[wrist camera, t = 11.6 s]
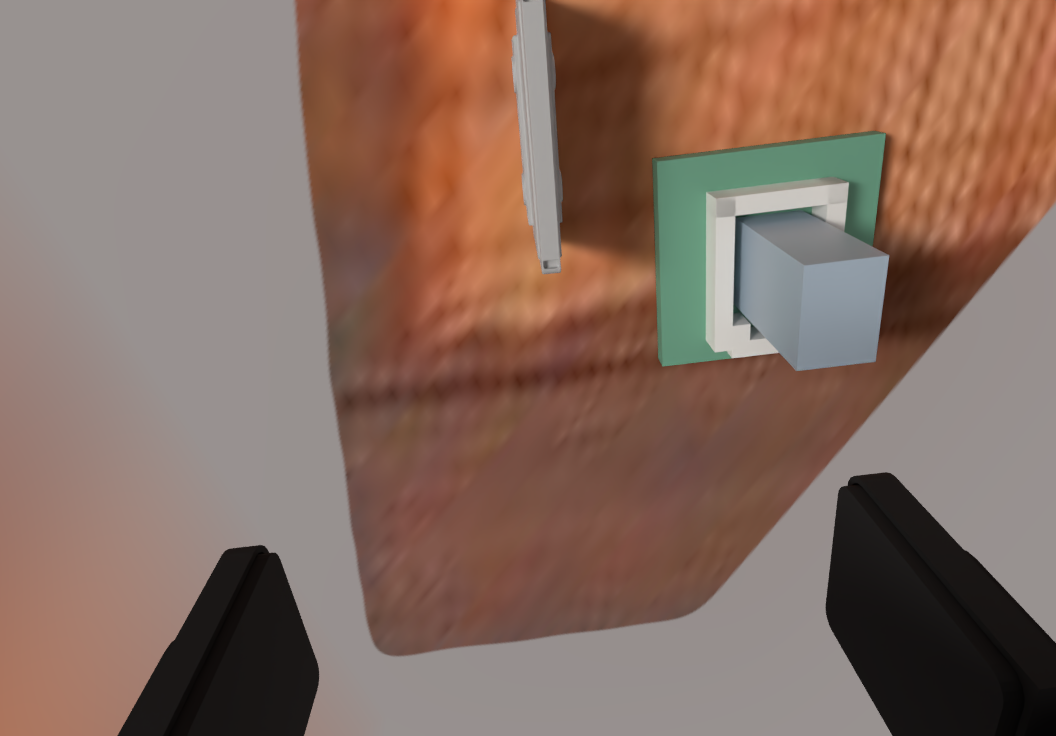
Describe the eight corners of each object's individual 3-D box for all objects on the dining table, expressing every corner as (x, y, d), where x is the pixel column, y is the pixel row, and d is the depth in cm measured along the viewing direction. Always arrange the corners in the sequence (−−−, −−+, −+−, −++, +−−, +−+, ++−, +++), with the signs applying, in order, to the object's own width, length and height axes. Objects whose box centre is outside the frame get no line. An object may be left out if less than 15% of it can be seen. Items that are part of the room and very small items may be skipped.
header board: (652, 158, 36) (664, 166, 33) (874, 130, 35) (905, 137, 33) (658, 358, 41) (669, 379, 38) (851, 334, 41) (877, 354, 38)
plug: (735, 217, 36) (804, 265, 28) (801, 209, 36) (889, 255, 28) (732, 319, 38) (795, 390, 30) (794, 312, 38) (872, 381, 30)
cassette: (504, -5, 32) (506, -21, 25) (542, -8, 32) (554, -26, 25) (526, 237, 37) (532, 279, 30) (558, 234, 37) (572, 275, 30)
